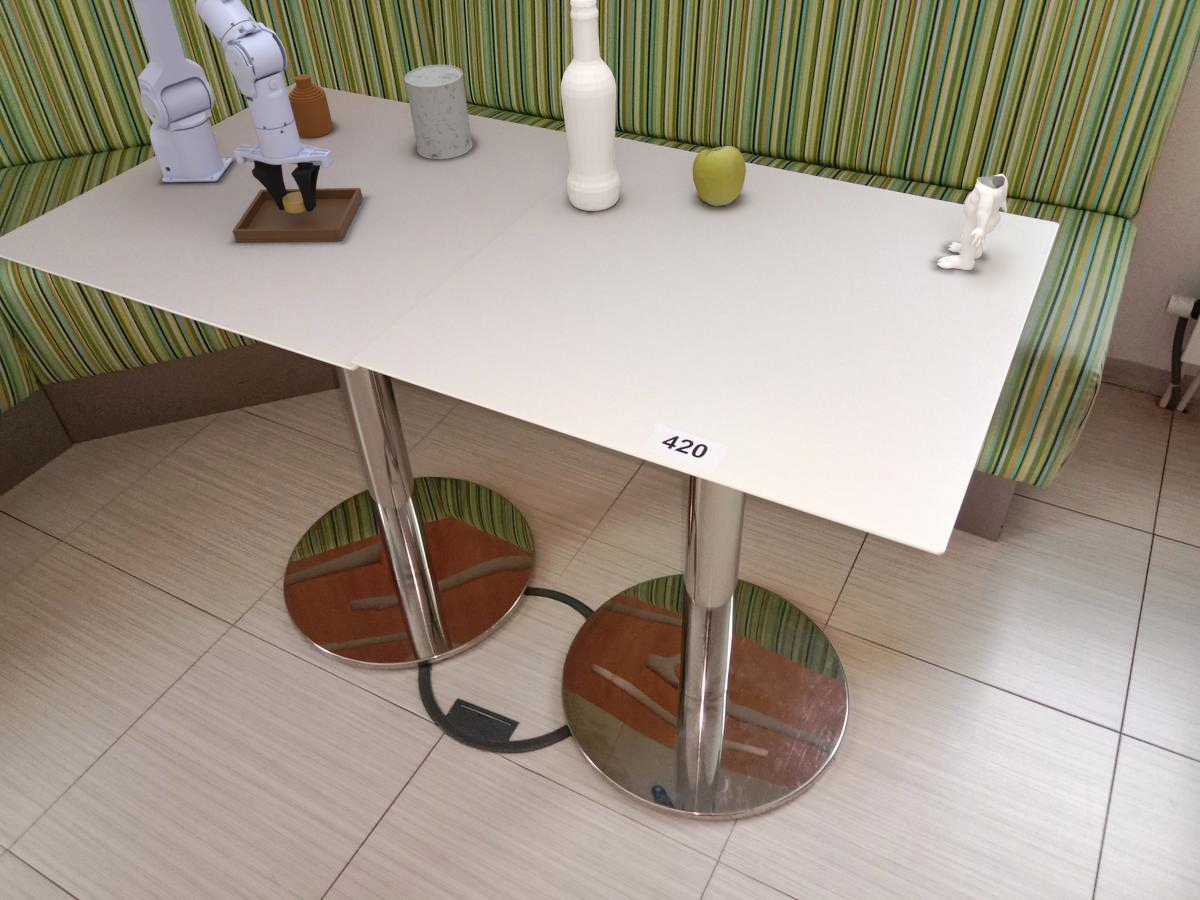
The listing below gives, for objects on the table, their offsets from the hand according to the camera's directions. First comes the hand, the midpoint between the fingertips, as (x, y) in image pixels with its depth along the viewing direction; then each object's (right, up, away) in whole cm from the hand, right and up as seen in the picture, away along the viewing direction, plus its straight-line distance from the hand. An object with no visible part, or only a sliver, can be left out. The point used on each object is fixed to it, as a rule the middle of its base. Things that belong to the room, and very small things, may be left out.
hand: (298, 207), depth 148 cm
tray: (0, -2, +1) cm, 2 cm away
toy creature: (+96, -11, -16) cm, 98 cm away
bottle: (+45, +1, +2) cm, 45 cm away
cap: (0, +1, -1) cm, 1 cm away
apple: (+64, +1, +1) cm, 64 cm away
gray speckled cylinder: (+19, +15, +19) cm, 31 cm away
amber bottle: (-5, +20, +26) cm, 34 cm away
